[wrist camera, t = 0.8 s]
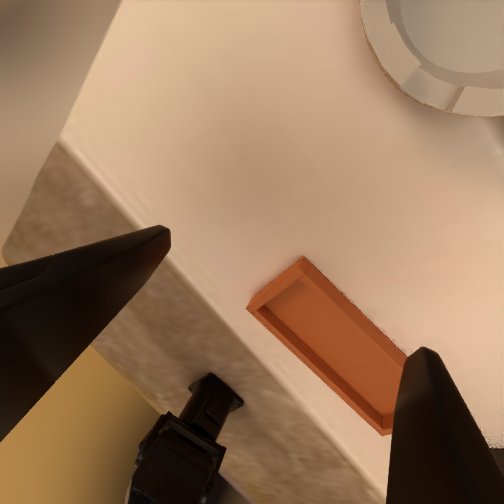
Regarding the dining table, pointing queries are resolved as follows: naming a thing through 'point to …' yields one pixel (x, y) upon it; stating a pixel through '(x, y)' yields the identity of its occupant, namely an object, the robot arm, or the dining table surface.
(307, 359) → the pen tray
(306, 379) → the dining table surface
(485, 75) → the flag stand
